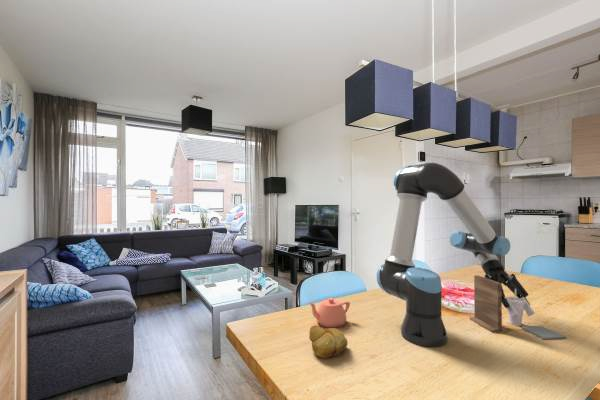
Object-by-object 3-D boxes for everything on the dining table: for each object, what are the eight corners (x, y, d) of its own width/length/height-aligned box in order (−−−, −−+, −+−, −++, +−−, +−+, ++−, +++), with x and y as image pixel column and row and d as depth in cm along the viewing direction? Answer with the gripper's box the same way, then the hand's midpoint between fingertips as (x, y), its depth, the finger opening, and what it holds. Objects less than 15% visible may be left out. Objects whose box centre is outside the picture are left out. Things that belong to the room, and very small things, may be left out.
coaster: (543, 339, 100) (543, 338, 100) (520, 328, 109) (520, 326, 109) (566, 338, 101) (566, 336, 101) (542, 327, 110) (542, 325, 110)
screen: (492, 332, 105) (492, 283, 105) (469, 319, 117) (469, 275, 117) (507, 331, 106) (506, 283, 106) (483, 318, 118) (482, 275, 118)
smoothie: (506, 325, 111) (506, 289, 112) (504, 319, 117) (503, 285, 117) (527, 328, 108) (527, 291, 109) (523, 322, 114) (523, 287, 114)
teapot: (356, 326, 111) (356, 301, 111) (312, 331, 106) (312, 306, 106) (343, 314, 123) (343, 292, 123) (303, 319, 118) (303, 296, 118)
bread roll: (341, 342, 98) (341, 318, 98) (355, 356, 89) (355, 330, 89) (306, 347, 94) (306, 323, 94) (317, 363, 85) (317, 336, 85)
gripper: (505, 267, 129) (539, 317, 113) (465, 268, 127) (494, 320, 111) (515, 258, 124) (552, 309, 108) (474, 259, 122) (506, 311, 106)
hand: (523, 314), depth 109 cm, fingers closed on smoothie, 6 cm apart
